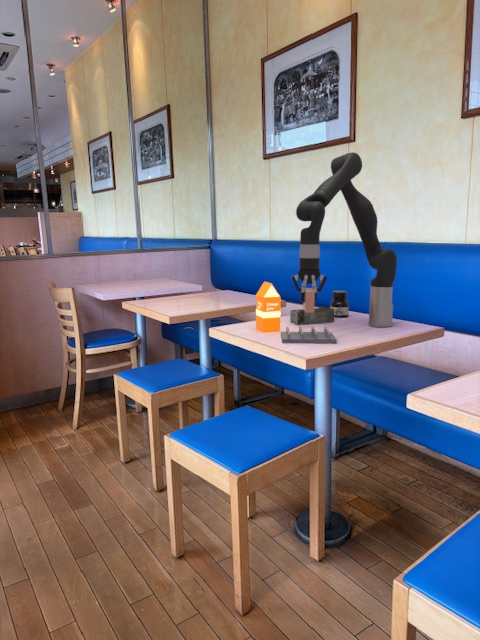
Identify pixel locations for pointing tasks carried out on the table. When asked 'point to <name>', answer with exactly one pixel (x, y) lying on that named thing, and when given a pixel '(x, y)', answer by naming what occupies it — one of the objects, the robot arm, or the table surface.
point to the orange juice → (268, 309)
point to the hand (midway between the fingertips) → (308, 302)
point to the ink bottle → (340, 304)
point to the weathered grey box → (312, 316)
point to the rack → (308, 336)
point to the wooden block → (309, 300)
